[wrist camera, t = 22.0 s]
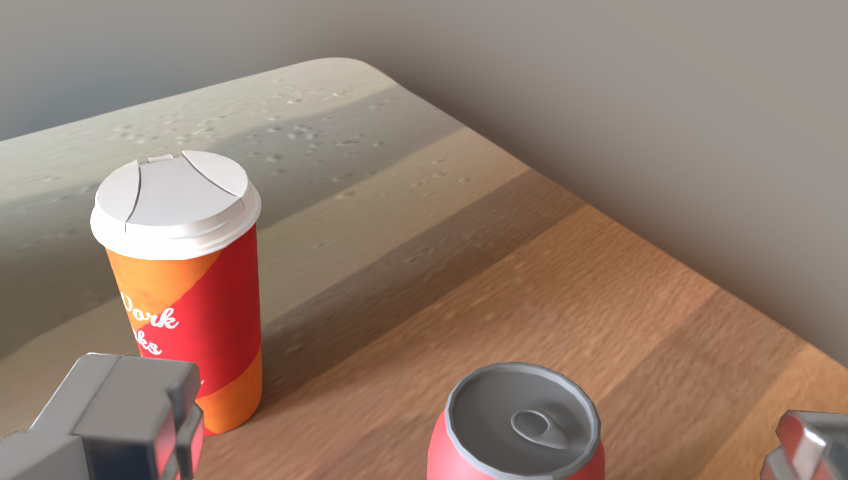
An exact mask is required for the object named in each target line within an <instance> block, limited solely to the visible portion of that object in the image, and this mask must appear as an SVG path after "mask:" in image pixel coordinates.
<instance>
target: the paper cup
mask: <svg viewBox="0 0 848 480" xmlns="http://www.w3.org/2000/svg"><path fill="white" fill-rule="evenodd" d="M182 155H183V156H182ZM182 155H178V156H172V154H166V155H161V156H155V157H150V158H148V162H142V163H140V167H138V163H137V160H134V161H132V162H129V163H127V164H125V165H123V166H122V167H120V168H118V169H117V170H115V171H114V172H112V173H111V174H110V175H109V176H108V177H106V178H105V180H104V181H103V182H102V183H101V185H100V187H99V189H98V191H97V194H96V199H95V207H94V209H93V212H92V215H91V221H90V222H91V229H92V232H93V234H94V236H95V237H96V238H97V240H98V241H99V242H100V243H101V244H103V245H104V246H105V248H106V251H107V254H108V257H109V260H110V263H111V266H112V269H113V272H114V275H115V278H116V281H117V284H118V287H119V290H120V293H121V296H122V299H123V302H124V305H125V308H126V311H127V314H128V317H129V320H130V323H131V326H132V329H133V332H134V335H135V338H136V341H137V344H138V347H139V350H140V353H141V356H142V357H147V358H157V359H167V360H177V361H186V362H195V363H196V364H197V366H198V367H199V372H200V379H201V388H200V390H199V392H198V395H197V397H196V399H195V402H196V403H197V404H198V405H199V406H200V407H201V409H202V410H203V411H204V423H205V428H204V436H209V435H216V434H220V433H224V432H227V431H229V430H232V429H234V428H236V427H238V426H239V425H241V424H242V423H244V422H245V421H246V420H248V419H249V418H250V417H251V416H252V415H253V413H254V412H255V411H256V409H257V408H258V406H259V403H260V400H261V396H262V353H261V327H260V303H259V281H258V260H257V238H256V221H257V219H258V217H259V215H260V212H261V206H262V204H261V197H260V195H259V193H258V191H257V190H256V188H255V187H254V186H253V184H252V183H251V182H250V180H249V177H248V175H247V173H246V172H245V171H244V169H243V168H242V167H241V166H240V165H239V164H237V163H236V162H235V161H233V160H231V159H229V158H227V157H224V156H221V155H218V154H214V153H209V152H202V151H182ZM173 158H174V159H173Z"/></svg>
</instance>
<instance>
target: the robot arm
mask: <svg viewBox="0 0 848 480" xmlns="http://www.w3.org/2000/svg"><path fill="white" fill-rule="evenodd" d="M200 388H201V379H200V372H199V367H198V366H197V364H196V363H195V362H186V361H177V360H167V359H157V358H147V357H137V356H128V355H125V356H121V355H113V354H102V353H92V352H89V353H87V354H85V355H83V356H81V357H80V358H79V359H78V361H77V362H76V363H75V365H74V366H73V368H72V369H71V371H70V372H69V373H68V375H67V376H66V378H65V379H64V381H63V382H62V383H61V385H60V386H59V388H58V389H57V391H56V392H55V393H54V395H53V396H52V398H51V399H50V400H49V402H48V403H47V405H46V406H45V408H44V409H43V410H42V412H41V413H40V415H39V416H38V418H37V419H36V420H35V422H34V423H33V425H32V426H31V428H30V429H29V430H28V432H26V431H16V432H14V433H12V434H10V435H8V436H6V437H4V438H2V439H1V440H0V480H192V479H193V478H194V475H195V473H196V470H197V467H198V465H199V462H200V457H201V452H202V448H203V443H204V428H205V423H204V411H203V410H202V409H201V407H200V406H199V405H198V404H197V403H196V402H195V399H196V397H197V395H198V392H199V390H200ZM775 432H776V434H777V436H778V438H779V440H780V442H781V445H780V446H779V447H777V448H776V449H774V450H773V451H772V452H770V453H769V454H767V455H766V457H765V460H764V463H763V466H762V469H761V472H760V480H848V414H840V413H827V412H813V411H800V410H787V411H786V412H785V414H784V415H783V416H782V417H781V418H780V421H779V423H778V426H777V428H776V431H775Z"/></svg>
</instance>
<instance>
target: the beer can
mask: <svg viewBox="0 0 848 480" xmlns="http://www.w3.org/2000/svg"><path fill="white" fill-rule="evenodd" d="M600 430H601V421H600V419H599V416H598V413H597V411H596V408H595V405H594V403H593V402H592V401H591V399H590V398H589V397H588V396H587V395H586V393H585V392H584V391H583V390H582V388H581V387H579V386H578V385H577V384H575V383H574V382H572V381H571V380H570V379H568V378H567V377H565V376H564V375H563V374H560V373H558V372H555V371H553V370H550V369H548V368H545V367H543V366H539V365H534V364H528V363H522V362H510V363H496V364H492V365H489V366H486V367H483V368H479V369H476V370H475V371H473V372H472V373H470V374H469V375H467V376H466V377H464V378H463V379H461V380H460V381H459V382H458V384H457V385H456V386H455V388H454V389H453V390H452V392H451V393H450V394H449V397H448V401H447V405H446V409H445V410H444V411H443V413H442V414H441V416H440V417H439V418H438V421H437V423H436V426H435V428H434V431H433V435H432V439H431V443H430V447H429V450H428V466H427V480H604V477H605V456H604V448H603V445H602V442H601V438H600Z"/></svg>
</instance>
